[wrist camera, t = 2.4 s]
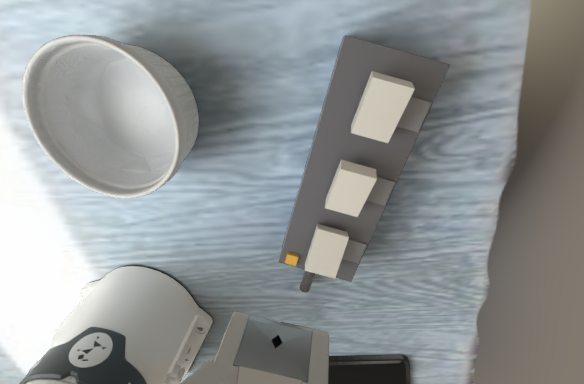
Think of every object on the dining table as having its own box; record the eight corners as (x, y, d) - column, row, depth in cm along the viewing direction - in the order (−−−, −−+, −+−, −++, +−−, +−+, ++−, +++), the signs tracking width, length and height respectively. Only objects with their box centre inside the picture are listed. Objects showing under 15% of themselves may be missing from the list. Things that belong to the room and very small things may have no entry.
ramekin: (207, 181, 33) (179, 212, 27) (93, 158, 33) (39, 183, 27) (213, 51, 27) (179, 53, 21) (74, 24, 27) (-1, 17, 21)
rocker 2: (357, 206, 27) (357, 217, 26) (325, 198, 27) (324, 208, 26) (376, 169, 24) (377, 178, 23) (341, 159, 24) (340, 168, 23)
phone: (302, 361, 43) (409, 359, 41) (302, 354, 44) (407, 352, 42) (311, 394, 46) (410, 394, 44) (311, 387, 47) (408, 386, 45)
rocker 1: (333, 271, 30) (335, 278, 28) (304, 263, 30) (304, 270, 28) (347, 231, 28) (349, 237, 27) (317, 223, 28) (317, 228, 27)
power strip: (335, 287, 37) (336, 317, 33) (274, 271, 37) (268, 299, 33) (432, 62, 25) (453, 65, 21) (342, 37, 25) (345, 35, 21)
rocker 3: (386, 134, 24) (387, 143, 23) (351, 125, 24) (350, 133, 23) (411, 82, 21) (414, 88, 20) (371, 70, 21) (372, 77, 20)
